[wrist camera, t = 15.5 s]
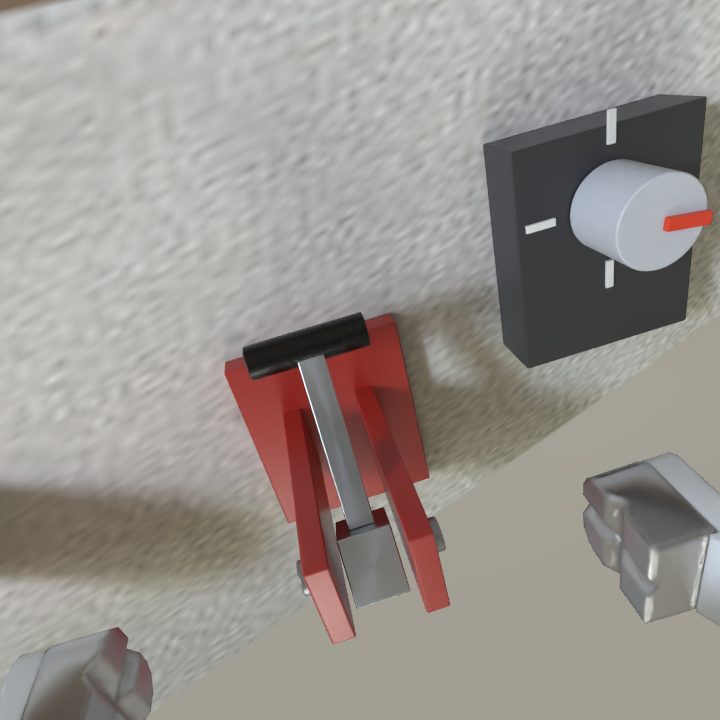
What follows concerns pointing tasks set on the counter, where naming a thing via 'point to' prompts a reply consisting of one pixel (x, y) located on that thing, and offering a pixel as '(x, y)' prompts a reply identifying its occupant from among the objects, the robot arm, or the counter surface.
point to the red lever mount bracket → (373, 455)
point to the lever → (338, 452)
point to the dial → (639, 213)
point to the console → (558, 242)
